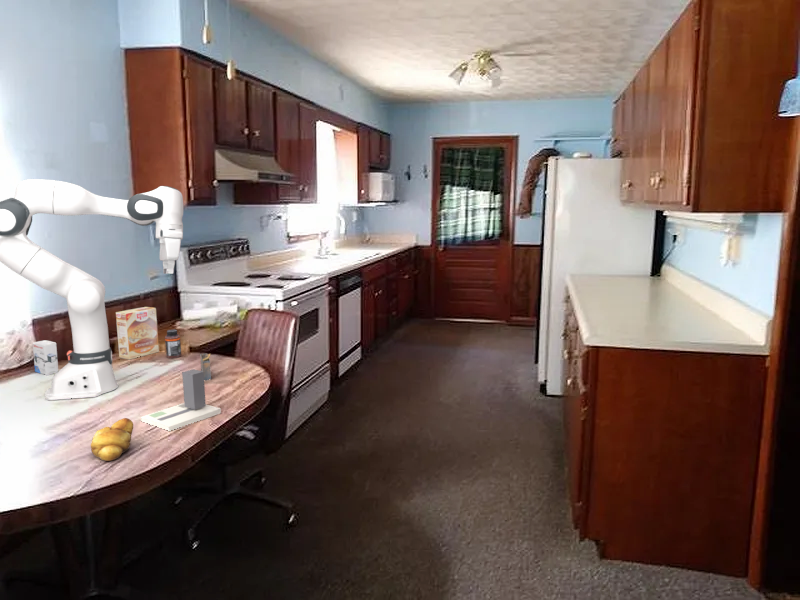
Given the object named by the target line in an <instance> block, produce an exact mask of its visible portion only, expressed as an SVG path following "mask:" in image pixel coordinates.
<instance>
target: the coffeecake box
mask: <svg viewBox="0 0 800 600" xmlns="http://www.w3.org/2000/svg"><path fill="white" fill-rule="evenodd" d="M115 318H116V332H117V342H118V345H117V346H118V355H119V356H118V357H119V358H120V359H125V360H133V359H138V358H140V356H141V357H144V356H148V355H153V354H156V353H159V352H160V346H159V334H158V333H159V331H158V320H157V319H158V318H157V308H156V307H152V306H151V307H150V306H144V307H136V308H132V309H126V310H122V311H121V310H120V311H116V312H115ZM137 357H138V358H137Z"/></svg>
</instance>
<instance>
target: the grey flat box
mask: <svg viewBox="0 0 800 600" xmlns="http://www.w3.org/2000/svg"><path fill="white" fill-rule="evenodd" d="M199 355H200V371H203V372H204V380H205V381H210V380H209V379H211V380H212V373H211V360H210V357H211V353H209V354H208V353H200V354H199Z"/></svg>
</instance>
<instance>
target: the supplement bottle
mask: <svg viewBox="0 0 800 600" xmlns="http://www.w3.org/2000/svg"><path fill="white" fill-rule="evenodd" d="M164 341H165V342H164V343H165V355H166V358H168V359H177V358H180V357H181V356H182V346H181V344H182V343H181V336H180V335H179V334H178V330H177V329H167V331H166V335H165V336H164Z"/></svg>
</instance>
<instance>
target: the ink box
mask: <svg viewBox="0 0 800 600" xmlns="http://www.w3.org/2000/svg"><path fill="white" fill-rule="evenodd" d="M57 350H58V349H57V343H56V342H55V341H51V340H46V339H45V340H39V341H33V342H32V352H33V361H34V372H35V373H39V374H40V375H44V374H45V376H49V375H53V373H54V374H56V373H57V372H58V371H59V362H58V351H57Z"/></svg>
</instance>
